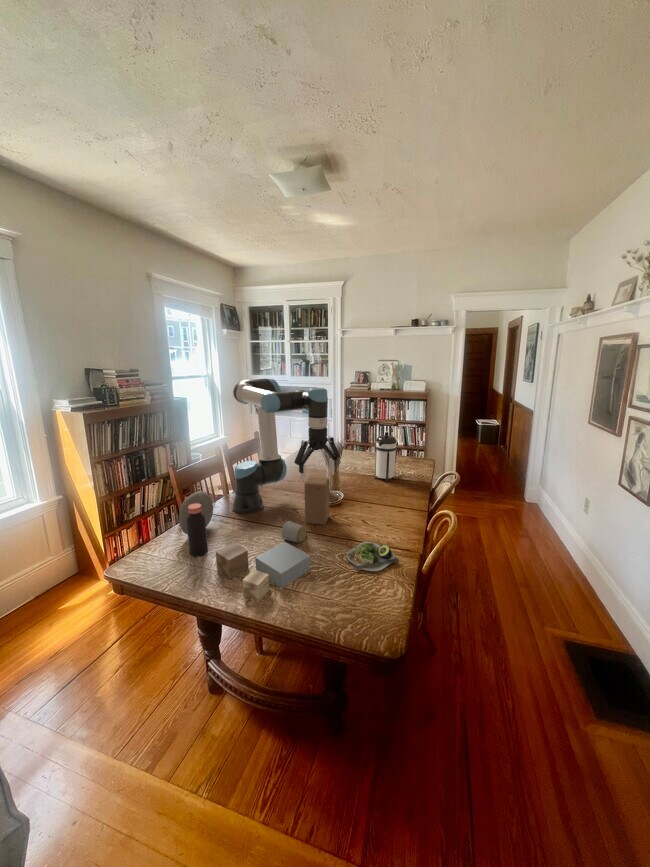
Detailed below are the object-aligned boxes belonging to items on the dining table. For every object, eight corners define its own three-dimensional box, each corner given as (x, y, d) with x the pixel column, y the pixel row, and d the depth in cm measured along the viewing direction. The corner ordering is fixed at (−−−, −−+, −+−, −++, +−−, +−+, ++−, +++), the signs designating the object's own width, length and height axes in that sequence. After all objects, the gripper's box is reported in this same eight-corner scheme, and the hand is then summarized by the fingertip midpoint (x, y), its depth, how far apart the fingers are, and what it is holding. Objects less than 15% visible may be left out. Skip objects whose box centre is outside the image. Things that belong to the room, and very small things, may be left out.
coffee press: (400, 482, 208) (403, 435, 201) (374, 482, 208) (376, 434, 201) (395, 472, 225) (397, 428, 218) (370, 472, 225) (372, 428, 218)
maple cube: (243, 595, 112) (242, 579, 110) (254, 584, 117) (253, 569, 116) (258, 601, 109) (257, 585, 108) (269, 589, 114) (268, 574, 113)
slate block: (256, 571, 124) (255, 557, 123) (284, 555, 134) (284, 541, 133) (281, 589, 115) (281, 573, 114) (310, 569, 125) (310, 555, 124)
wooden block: (325, 525, 156) (325, 485, 152) (304, 523, 158) (303, 483, 154) (329, 515, 166) (329, 477, 161) (309, 513, 168) (309, 475, 163)
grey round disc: (207, 521, 160) (204, 484, 155) (219, 524, 157) (216, 486, 153) (176, 541, 143) (171, 499, 139) (188, 544, 141) (184, 503, 136)
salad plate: (371, 583, 118) (371, 572, 117) (335, 561, 131) (335, 550, 130) (403, 561, 131) (404, 550, 130) (367, 542, 144) (368, 532, 142)
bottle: (211, 548, 138) (207, 503, 133) (201, 558, 132) (197, 510, 127) (196, 546, 139) (191, 501, 135) (186, 555, 133) (181, 508, 128)
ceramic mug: (298, 546, 139) (298, 529, 138) (281, 542, 143) (281, 525, 141) (310, 535, 149) (310, 519, 147) (294, 530, 152) (294, 515, 151)
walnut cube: (217, 571, 124) (215, 551, 122) (235, 561, 130) (234, 542, 128) (230, 580, 119) (228, 560, 117) (248, 569, 125) (247, 550, 123)
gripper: (294, 432, 126) (294, 486, 131) (348, 425, 139) (347, 474, 144) (285, 428, 132) (286, 479, 138) (338, 422, 145) (337, 469, 150)
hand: (317, 477), depth 141 cm, fingers open, 13 cm apart
